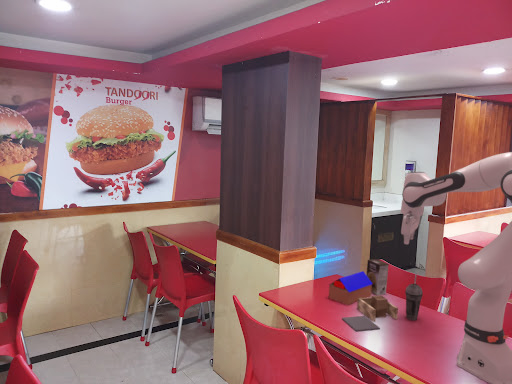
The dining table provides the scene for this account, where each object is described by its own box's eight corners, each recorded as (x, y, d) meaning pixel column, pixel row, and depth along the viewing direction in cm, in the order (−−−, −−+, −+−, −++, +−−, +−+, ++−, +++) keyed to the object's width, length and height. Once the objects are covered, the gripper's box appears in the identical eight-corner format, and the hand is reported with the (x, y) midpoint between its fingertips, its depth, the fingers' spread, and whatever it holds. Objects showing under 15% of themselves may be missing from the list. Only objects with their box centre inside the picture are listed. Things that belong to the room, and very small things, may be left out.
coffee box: (364, 289, 218) (367, 259, 216) (374, 288, 220) (376, 258, 218) (376, 295, 209) (379, 264, 207) (386, 294, 212) (389, 263, 210)
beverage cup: (401, 319, 182) (405, 275, 180) (404, 313, 189) (408, 270, 186) (419, 323, 179) (423, 278, 177) (421, 317, 185) (425, 273, 183)
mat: (379, 329, 171) (379, 327, 171) (356, 331, 168) (356, 330, 168) (364, 317, 183) (364, 315, 183) (341, 319, 180) (342, 317, 180)
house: (371, 296, 208) (373, 274, 207) (347, 306, 195) (349, 282, 194) (351, 289, 217) (353, 268, 216) (327, 298, 204) (329, 275, 203)
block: (386, 316, 184) (387, 299, 183) (376, 317, 183) (377, 300, 182) (379, 312, 189) (381, 295, 188) (370, 313, 188) (371, 296, 187)
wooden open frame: (397, 318, 182) (398, 308, 182) (373, 321, 179) (373, 310, 178) (379, 306, 195) (380, 296, 195) (357, 308, 192) (357, 298, 191)
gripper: (415, 214, 165) (411, 248, 167) (423, 207, 182) (420, 238, 184) (399, 212, 168) (395, 245, 170) (408, 205, 186) (405, 235, 188)
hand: (408, 241), depth 177 cm, fingers open, 8 cm apart
